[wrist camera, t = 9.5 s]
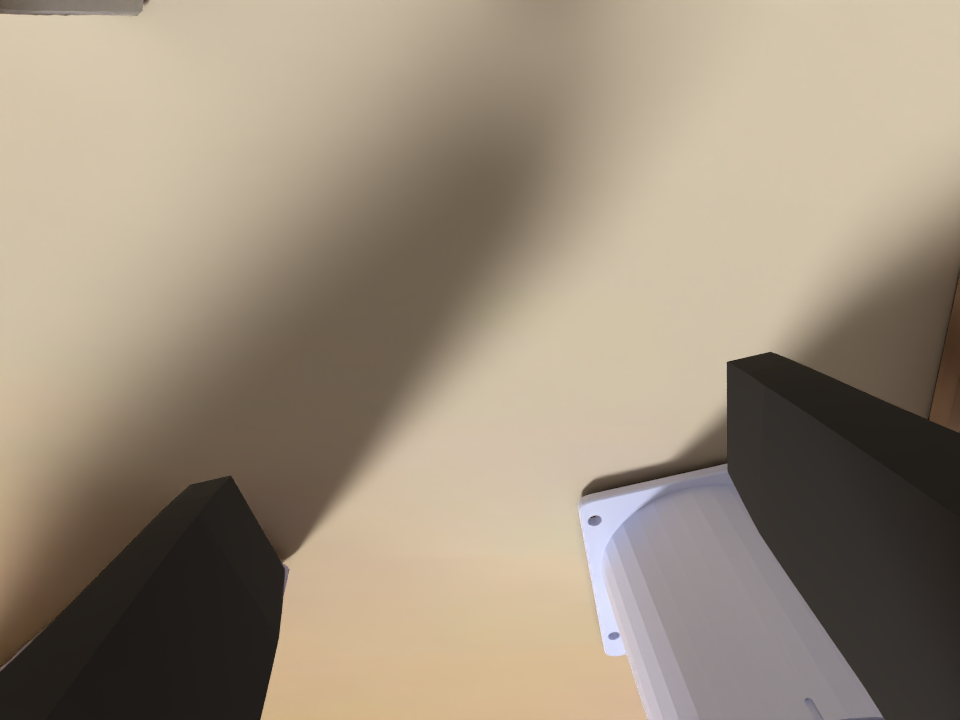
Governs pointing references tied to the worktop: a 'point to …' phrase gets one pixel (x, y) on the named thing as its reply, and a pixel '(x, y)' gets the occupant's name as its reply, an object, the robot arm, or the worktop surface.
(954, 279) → the worktop surface
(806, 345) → the worktop surface
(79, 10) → the coffee box
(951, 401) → the brown tray
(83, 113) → the worktop surface
